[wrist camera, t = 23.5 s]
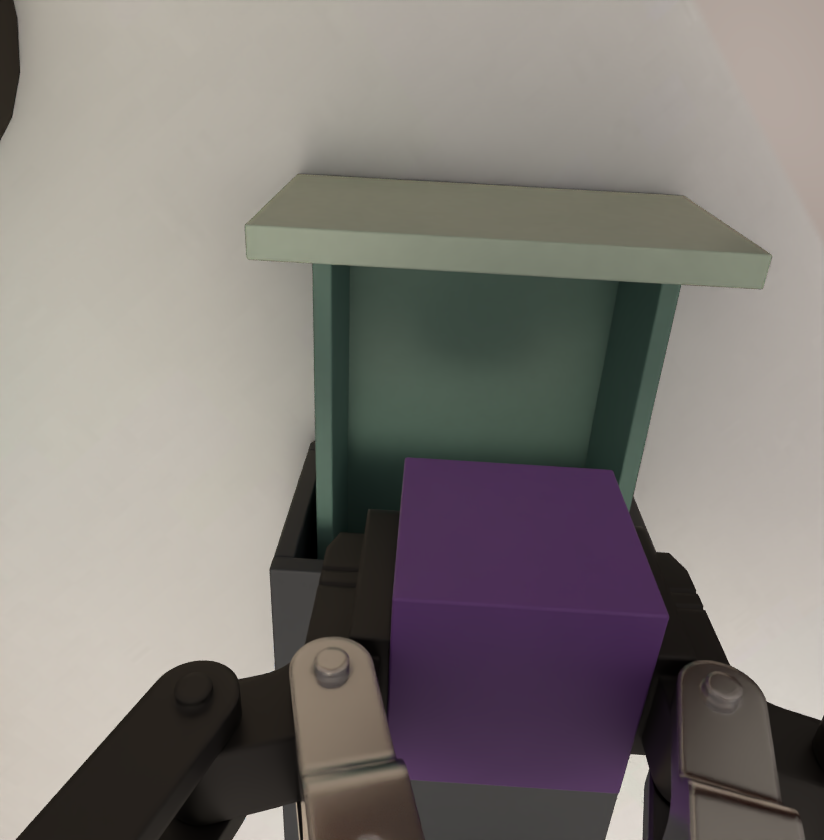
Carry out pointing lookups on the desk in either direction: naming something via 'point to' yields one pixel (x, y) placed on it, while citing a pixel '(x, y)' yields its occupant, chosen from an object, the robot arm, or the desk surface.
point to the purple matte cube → (519, 626)
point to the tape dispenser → (8, 61)
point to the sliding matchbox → (486, 323)
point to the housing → (436, 801)
